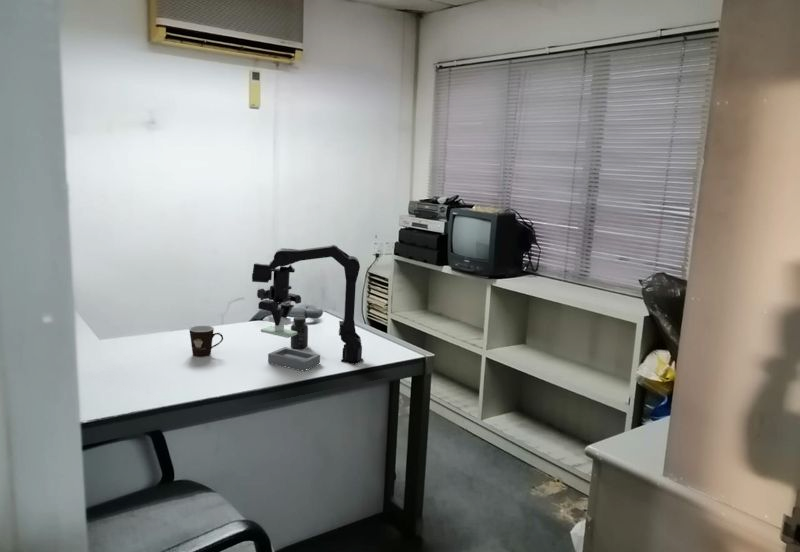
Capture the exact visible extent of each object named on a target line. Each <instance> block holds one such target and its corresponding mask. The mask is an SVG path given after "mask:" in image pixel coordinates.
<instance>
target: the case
mask: <svg viewBox="0 0 800 552" xmlns="http://www.w3.org/2000/svg"><path fill="white" fill-rule="evenodd" d="M267 354H268V355H267V356H268V357H267V363H268V362H269V363H268V364H271V363H273V364H272V365H275V364H277V365H276V366H279V365H281V366H280V367H283V366H286V367H285V368H287V367H290V368H289V369H291V368H294V369H293V370H295V369H299V370H303V371H304V372H306V371H307V370H306V369H309V368H311V367H313V366H315V365H317V364H319V363H320V364H321V354H317V353H313V352H309V351H306V350H305V351H304V350H302V349H293V348H292V347H287V346H283V347H280V348H278V349H276V350H274V351H272V352H269V353H267ZM320 364H319V365H320ZM317 366H318V365H317ZM315 367H316V366H315ZM313 368H314V367H313ZM311 369H312V368H311ZM299 370H298V371H299ZM305 370H306V371H305ZM309 370H310V369H309ZM303 371H302V372H303Z"/></svg>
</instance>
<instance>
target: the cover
mask: <svg viewBox="0 0 800 552" xmlns="http://www.w3.org/2000/svg"><path fill="white" fill-rule="evenodd" d="M291 320H292V319H291V317H290V318H289V317H287V318H286V317H281V320H280V323H279V325H278V326H277V325H275V322H274V318H273V315H272V314H271V315H268V322H270V323H274V326H273V325H268V326H267V327H263V328H261V329H260V332H261V333H266V334H270V335H273V336H278V337H282V338H286V339H288V338H291V336H294V335H297V331H292V330H291V329H287V328H285V326H289V325H292V324H291Z"/></svg>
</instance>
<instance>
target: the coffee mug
mask: <svg viewBox="0 0 800 552" xmlns="http://www.w3.org/2000/svg"><path fill="white" fill-rule="evenodd" d="M188 331H189V337H190V342H191V343H190V344H191V345H190V346H191V352H192V356H194V357H195V358H206V357H209V356H211V354H212V353H211V352H212V349H213V348H215V347H217V346H218V345H220V344H221V343H222V342H223V340H224V336H223V334H222V333H220V332H214V331H215V327H213V326H210V325H194V326H192V327H190V328H189V330H188ZM217 335H218V336H220V337H221V340H220V341H219V342H217V343H215V344H214V345H213V338H214V337H215V336H217Z"/></svg>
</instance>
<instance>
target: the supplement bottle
mask: <svg viewBox="0 0 800 552" xmlns="http://www.w3.org/2000/svg"><path fill="white" fill-rule="evenodd" d="M292 323H293V324H291V326H290V330H292V331H297V335H294V336H291V337H290V348H292V349H293V348H295V349H296V350H305V349H307V348H308V346H309V345H308V344H309V327H308V324H306V323H307V321H306V317H304V316H295V317H293V321H292ZM306 347H307V348H306ZM304 348H305V349H304Z"/></svg>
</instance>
